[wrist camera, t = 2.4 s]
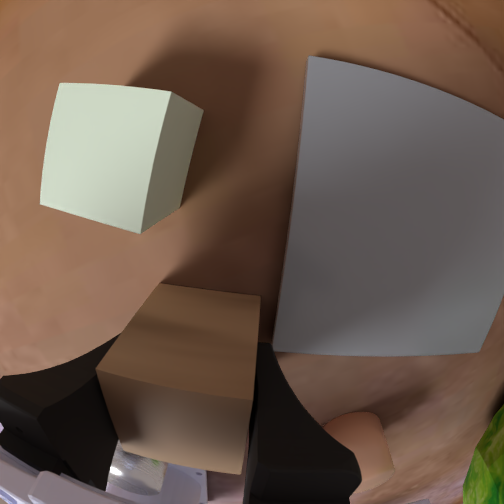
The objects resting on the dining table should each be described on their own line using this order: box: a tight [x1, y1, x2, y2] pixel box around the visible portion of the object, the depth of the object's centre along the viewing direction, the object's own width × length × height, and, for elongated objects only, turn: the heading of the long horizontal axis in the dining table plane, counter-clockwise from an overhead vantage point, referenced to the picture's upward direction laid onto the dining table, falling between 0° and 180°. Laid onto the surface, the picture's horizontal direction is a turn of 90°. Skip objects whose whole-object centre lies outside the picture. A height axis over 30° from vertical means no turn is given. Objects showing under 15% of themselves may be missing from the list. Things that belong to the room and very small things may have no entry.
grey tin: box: [107, 440, 169, 496], centre depth 14 cm, size 4×4×5 cm
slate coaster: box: [272, 56, 504, 356], centre depth 11 cm, size 12×12×1 cm
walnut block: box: [96, 283, 261, 475], centre depth 11 cm, size 4×4×6 cm
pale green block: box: [40, 83, 204, 234], centre depth 9 cm, size 4×4×4 cm
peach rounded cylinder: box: [323, 412, 395, 494], centre depth 14 cm, size 4×4×4 cm
